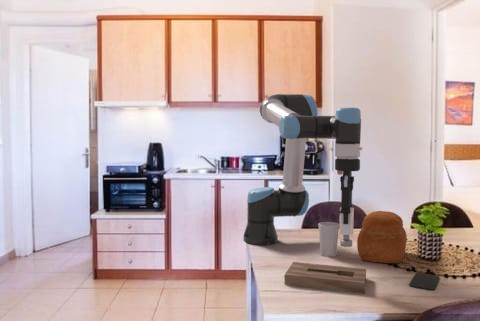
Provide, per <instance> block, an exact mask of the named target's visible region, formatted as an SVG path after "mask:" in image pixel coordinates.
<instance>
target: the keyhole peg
mask: <svg viewBox="0 0 480 321" xmlns="http://www.w3.org/2000/svg"><path fill="white" fill-rule="evenodd" d="M339 211H341V206H340V208H339ZM350 211H351V227H350V235H347V234H341V214H342V213H339V223H338V224H339V231H338V235H340V236H341V235H343V238H342V239H340V247H344V248H345V247H346V248H351V247H353V239H350V236H353V235H354V230H355V229H354V226H355V225H354V224H355V223H354V222H355V221H354V220H355V218H354V212H355V208H354V206H352V207H350Z"/></svg>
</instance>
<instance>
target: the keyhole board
mask: <svg viewBox="0 0 480 321" xmlns="http://www.w3.org/2000/svg"><path fill="white" fill-rule="evenodd" d="M366 279H367V268H363V267H362V268H360V267H351V266H341V265H328V264H322V263H321V264H318V263H310V262H301V261H292V263H291V264H290V266H289V268H288V269H287V270H286V272H285V274H284V285H286V286H287V285H288V286H293V287H294V286H296V287H304V288H313V289H321V290H322V289H323V290H329V291H330V290H331V291H338V292H339V291H340V292H347V293H348V292H349V293H357V294H365V288H366Z"/></svg>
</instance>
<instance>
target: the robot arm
mask: <svg viewBox="0 0 480 321" xmlns="http://www.w3.org/2000/svg"><path fill="white" fill-rule="evenodd" d="M361 113H362V112H361V109H360V108H358V107H340V108H339V107H338V108H337V109H336V110H335V115H318V105H317V102H316V100H315V97H314V96H312V95H310V94H302V93H301V94H296V93H295V94H292V93H291V94H289V93H287V94H283V93H280V94H279V93H278V94H272V95H270V96H267V97H266V98H265V99H264V100H263V101H262V102H261V104H260V106H259V114H260V116H261V118H262V119H263V120H264V121H265V122H267V123H270V124H274V125H275V126H277V127H278V130H279V131H278V132H279V134H280V136H281V138H283V139H285V147H284V149H285V150H284V161H283V162H284V163H283V174H282V182H281V183H280V184H279V186H278V189H277V190H275V189H274V187H272V186H267V187H266V186H265V187H258V188H257V187H256V188H253V189H250V190H249V191H248V193H247V199H246V200H247V201H246V203H247V223H246V227H245V230H244V232H243V239H242V240H243V242H244V243H246V244H251V245H257V246H258V245H260V246H261V245H272V244H276V243H278V240H279V239H278V233H277V229H276V227H275V223H274V222H275V218H278V217H300V216H303V215H304V214H306V213H307V211H308V208H309V204H310V199H309V197H310V196H309V195H310V194H309V192H308V190H306V187H305V185H304V184H303V178H304V169H305V168H304V166H305V157H306V156H305V155H306V147H307V146H306V145H307V139H312V140H313V139H315V140H316V139H318V140H321V139H324V140H334V139H335V144H334V156H335V157H336V158H335V160H334V169H335V171H338V172H342V176H340V179H339V182H340V190H341V195H340V196H341V200H340V201H341V204H340V207H341V211H340V210H339V211H338V213H339V214H340V213H342V214H341V234H347V235H349V236H351V235H350V227H351V211H350V207H353V191H354V182H355V176H353V175H352V172H359V171H361V170H360V169H361V159H360V157H361V151H362V150H363V147H362V146H361V134H362V133H361V132H362V130H361V128H362V119H361V118H362V116H361V115H362V114H361ZM341 234H340V235H341Z"/></svg>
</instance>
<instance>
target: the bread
mask: <svg viewBox="0 0 480 321" xmlns="http://www.w3.org/2000/svg"><path fill="white" fill-rule="evenodd" d="M407 239H408V238H407V232H406V230H405V228H404V221H403V219H402V217H401V216H400V215H398V214H397V213H394V212H392V211H387V210H386V211H383V210H376V211H372V212H370V213H368V214H367V215H365V216H364V218H363V221H362V222H361V229H360V230H359V232H358V236H357V240H356V245H357V246H356V248H357V253H358V257H359V259H361V260H363V261H366V262H372V263H379V264H398V263H399V264H400V263H401V262H402V261H403V260H404V258H405V254H406V249H407Z"/></svg>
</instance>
